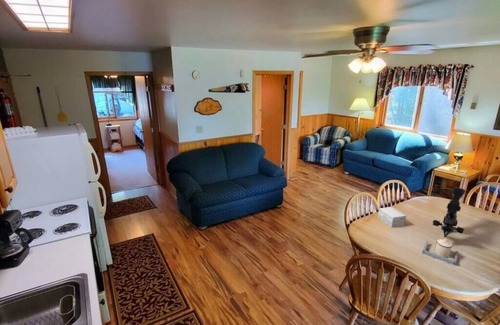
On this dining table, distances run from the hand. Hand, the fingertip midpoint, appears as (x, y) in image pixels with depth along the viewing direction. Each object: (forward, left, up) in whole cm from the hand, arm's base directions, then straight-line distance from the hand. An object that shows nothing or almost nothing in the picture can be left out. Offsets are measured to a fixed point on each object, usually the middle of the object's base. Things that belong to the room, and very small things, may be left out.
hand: (444, 237), depth 199 cm
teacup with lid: (+11, +5, -7) cm, 14 cm away
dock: (+13, +6, -7) cm, 16 cm away
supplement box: (+7, -40, -7) cm, 41 cm away
